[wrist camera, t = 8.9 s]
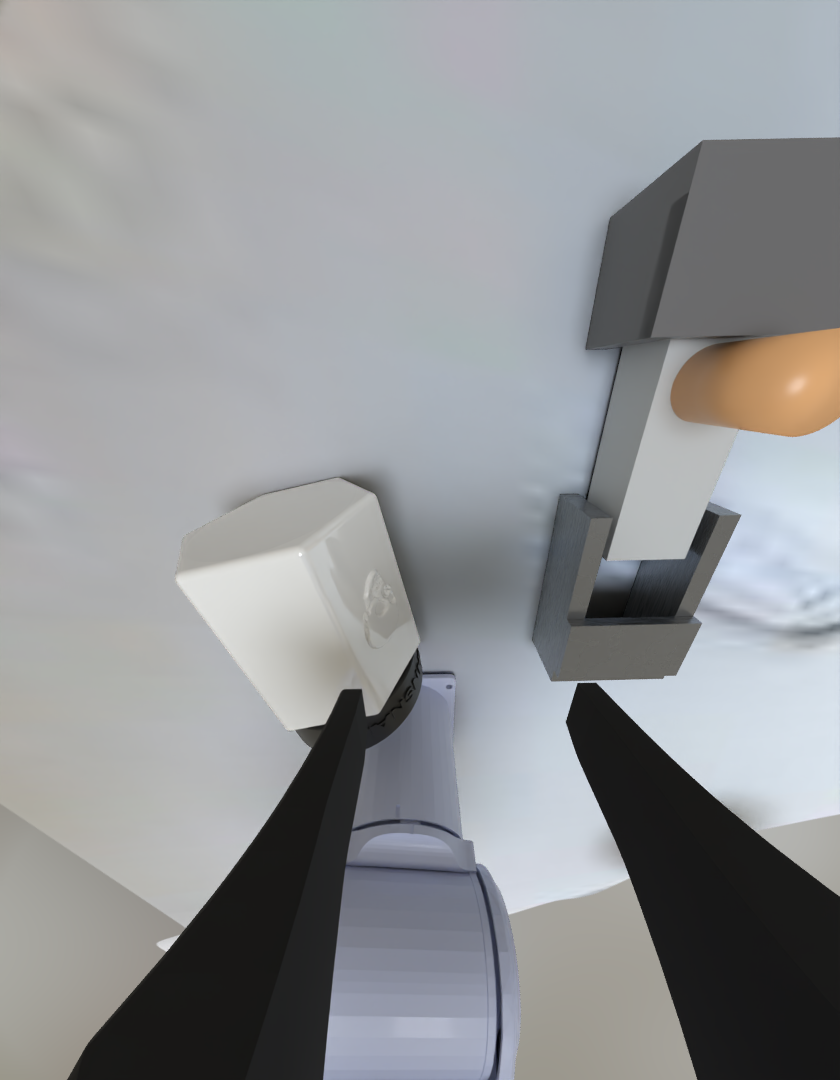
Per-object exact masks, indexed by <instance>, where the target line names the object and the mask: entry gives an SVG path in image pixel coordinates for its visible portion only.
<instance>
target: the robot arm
mask: <svg viewBox="0 0 840 1080" xmlns="http://www.w3.org/2000/svg"><path fill="white" fill-rule="evenodd" d="M455 687H456V680H455V676H454V675H452V674H428V675H422V685H421V690H420V693H419V696H418V699H417V701H416V703H415V705H414V707H413V709H412V711H411V712H410V714H409V715H408V717H407V718H406V719H405V720H404V722H403V723H402V724H401V725H400V726H399V727H398V728H397V729H396V730H395V731H394V732H393V733H392V734H391V735H389V736H388V737H387V738H385V739H384V740H383V741H381V742H379V743H378V744H376V745H374V746H372V747H370V748H368V749H366V741H367V730H368V726H367V719H366V713H365V706H364V700H363V693H362V689H343V690H342V691H341V692H340V694H339V697H338V699H337V701H336V703H335V705H334V708H333V710H332V712H331V714H330V716H329V718H328V720H327V722H326V724H325V726H324V727H323V729H322V731H321V733H320V735H319V737H318V739H317V740H316V742H315V744H314V746H313V748H312V749H311V751H310V753H309V755H308V757H307V758H306V760H305V762H304V763H303V765H302V767H301V768H300V770H299V772H298V773H297V775H296V777H295V778H294V780H293V781H292V783H291V785H290V786H289V788H288V790H287V791H286V793H285V794H284V796H283V798H282V799H281V801H280V802H279V804H278V805H277V807H276V808H275V810H274V811H273V813H272V814H271V816H270V817H269V819H268V820H267V822H266V823H265V825H264V826H263V827H262V829H261V830H260V832H259V833H258V835H257V836H256V837H255V839H254V840H253V842H252V843H251V845H250V846H249V847H248V849H247V850H246V851H245V853H244V854H243V855H242V857H241V858H240V859H239V861H238V862H237V864H236V865H235V866H234V868H233V869H232V870H231V872H230V873H229V874H228V876H227V877H226V878H225V880H224V881H223V882H222V884H221V885H220V886H219V888H218V889H217V890H216V891H215V893H214V894H213V895H212V897H211V898H210V899H209V900H208V902H207V903H206V904H205V905H204V906H203V908H202V909H201V910H200V911H199V913H198V914H197V915H196V916H195V918H194V919H193V920H192V921H191V923H190V924H189V925H188V926H187V928H186V929H185V930H184V931H183V932H182V934H181V935H180V936H179V937H178V939H177V940H176V941H175V942H174V944H173V945H172V946H171V947H170V949H169V950H168V951H167V952H166V953H165V955H164V956H163V957H162V958H161V959H160V961H159V962H158V963H157V964H156V965H155V967H154V968H153V969H152V970H151V971H150V972H149V973H148V974H147V976H146V977H145V978H144V979H143V980H142V981H141V983H140V984H139V985H138V986H137V987H136V988H135V990H134V991H133V992H132V993H131V994H130V995H129V996H128V998H127V999H126V1000H125V1001H124V1002H123V1003H122V1005H121V1006H120V1007H119V1008H118V1009H117V1010H116V1011H115V1013H114V1014H113V1015H112V1016H111V1017H110V1018H109V1020H108V1021H107V1022H106V1023H105V1024H104V1025H103V1027H101V1029H100V1030H99V1031H98V1032H97V1033H96V1034H95V1036H94V1037H93V1038H92V1039H91V1040H90V1042H89V1043H88V1045H87V1046H86V1048H85V1050H84V1051H83V1053H82V1055H81V1056H80V1058H79V1060H78V1062H77V1063H76V1065H75V1067H74V1069H73V1071H72V1072H71V1074H70V1076H69V1078H68V1079H67V1080H514V1074H515V1061H516V1054H517V1050H518V1045H519V1037H520V1021H521V1006H520V986H519V975H518V966H517V959H516V951H515V945H514V939H513V934H512V929H511V925H510V920H509V916H508V913H507V909H506V906H505V903H504V900H503V897H502V895H501V892H500V890H499V888H498V886H497V885H496V883H495V882H494V880H493V878H492V876H491V874H490V873H489V871H488V870H487V868H486V867H485V866H484V865H482V864H476V862H475V854H474V846H473V842H472V841H470V840H463V836H462V827H461V817H460V807H459V798H458V788H457V779H456V769H455V760H454V750H453V730H454V709H455ZM566 724H567V727H568V730H569V733H570V736H571V740H572V743H573V745H574V748H575V751H576V754H577V757H578V759H579V762H580V764H581V766H582V768H583V771H584V773H585V775H586V777H587V780H588V782H589V784H590V786H591V788H592V791H593V793H594V795H595V797H596V799H597V802H598V804H599V806H600V808H601V811H602V813H603V815H604V817H605V819H606V822H607V824H608V826H609V828H610V830H611V833H612V835H613V837H614V839H615V841H616V844H617V846H618V849H619V851H620V853H621V856H622V858H623V860H624V863H625V866H626V868H627V871H628V874H629V876H630V879H631V882H632V884H633V887H634V890H635V893H636V895H637V898H638V901H639V903H640V906H641V909H642V912H643V915H644V918H645V920H646V923H647V926H648V929H649V932H650V935H651V938H652V940H653V943H654V946H655V949H656V952H657V955H658V957H659V960H660V964H661V967H662V970H663V973H664V976H665V979H666V981H667V985H668V988H669V991H670V994H671V997H672V1000H673V1003H674V1006H675V1009H676V1012H677V1015H678V1018H679V1021H680V1025H681V1028H682V1031H683V1034H684V1038H685V1041H686V1044H687V1047H688V1050H689V1054H690V1057H691V1060H692V1063H693V1067H694V1070H695V1073H696V1077H697V1080H840V897H839V896H838V895H837V894H835V893H834V892H832V891H831V890H830V889H828V888H827V887H826V886H825V885H823V884H822V883H821V882H819V881H818V880H817V879H815V878H814V877H813V876H811V875H810V874H809V873H808V872H806V871H805V870H804V869H802V868H801V867H800V866H798V865H797V864H795V863H794V862H793V861H792V860H791V859H789V858H788V857H787V856H785V855H784V854H783V853H781V852H780V851H779V850H777V849H776V848H775V847H774V846H772V845H771V844H770V843H769V842H767V841H766V840H765V839H764V838H762V837H761V836H760V835H759V834H758V833H756V832H755V831H754V830H753V829H751V828H750V827H749V826H748V825H747V824H745V823H744V822H743V821H742V820H741V819H739V818H738V817H737V816H736V815H735V814H733V813H732V812H731V811H730V810H729V809H727V808H726V807H725V806H724V805H723V804H722V803H720V802H719V801H718V800H717V799H716V798H715V797H714V796H712V795H711V794H710V793H709V792H708V791H707V790H706V789H704V788H703V787H702V786H701V785H700V784H699V783H698V782H697V781H696V780H695V779H693V778H692V777H691V776H690V775H689V774H688V773H687V772H686V771H685V770H684V769H683V768H681V767H680V766H679V765H678V764H677V763H676V762H675V761H674V760H673V759H672V758H671V757H670V756H669V755H668V754H667V753H666V752H665V751H664V750H663V749H662V748H660V747H659V746H658V745H657V744H656V743H655V742H654V741H653V740H652V739H651V738H650V737H649V736H648V735H647V734H646V733H645V732H644V731H643V730H642V729H641V728H640V727H639V726H638V725H637V724H636V723H635V722H634V721H633V720H632V719H631V718H630V717H629V716H628V715H627V714H626V713H625V712H624V711H623V710H622V709H621V708H620V707H619V706H618V705H617V704H616V703H615V702H614V701H613V700H612V699H611V697H610V696H609V695H608V694H607V693H606V692H605V691H604V690H603V689H602V688H601V687H600V686H599V685H598V684H597V683H578V684H577V687H576V690H575V694H574V697H573V700H572V704H571V707H570V710H569V713H568V717H567V720H566Z"/></svg>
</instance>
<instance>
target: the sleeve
mask: <svg viewBox="0 0 840 1080" xmlns="http://www.w3.org/2000/svg"><path fill="white" fill-rule="evenodd" d="M740 517H741V515H740V514H738V513H735V512H733V511H730V510H728V509H726V508H723V507H721V506H718V505H716V504H713V503H711V502H708V505H707V507H706V510H705V512H704V514H703V517H702V519H701V522H700V524H699V526H698V529H697V531H696V534H695V536H694V538H693V541H692V543H691V545H690V548H689V550H688V553H687V555H686V557H685V559H662V560H642V562H641V565H640V568H639V571H638V574H637V577H636V580H635V583H634V585H633V588H632V591H631V594H630V597H629V600H628V603H627V605H626V608H625V611H624V614H623V617H622V618H587V619H585V616H586V612H587V608H588V605H589V601H590V598H591V594H592V591H593V587H594V583H595V580H596V576H597V573H598V569H599V566H600V562H601V558H602V555H603V551H604V548H605V544H606V541H607V537H608V533H609V530H610V526H611V523H612V519H613V518H612V517H611V516H609V515H608V514H606V513H605V512H603V511H602V510H600V509H599V508H598V507H596V506H595V505H593V504H592V503H590V502H589V501H587V500H586V499H584V498H583V497H582V496H580V495H579V494H560V498H559V503H558V508H557V514H556V519H555V524H554V529H553V535H552V540H551V545H550V550H549V556H548V561H547V566H546V571H545V577H544V582H543V587H542V592H541V598H540V603H539V608H538V613H537V619H536V624H535V629H534V634H533V642H534V645H535V647H536V649H537V651H538V653H539V656H540V658H541V660H542V662H543V664H544V667H545V669H546V671H547V673H548V675H549V678H550V680H551V681H588V680H626V679H663V678H664V676H674V675H676V674H677V672H678V670H679V668H680V666H681V664H682V662H683V660H684V658H685V656H686V654H687V652H688V650H689V648H690V646H691V644H692V642H693V640H694V638H695V636H696V634H697V632H698V630H699V628H700V626H701V624H702V623H701V622H700V621H699V620H697V619H696V618H695V617H694V616H693V615H694V613H695V611H696V609H697V607H698V605H699V603H700V600H701V598H702V596H703V594H704V592H705V590H706V588H707V586H708V584H709V582H710V580H711V577H712V575H713V573H714V571H715V569H716V567H717V565H718V563H719V561H720V559H721V557H722V554H723V552H724V550H725V548H726V546H727V544H728V542H729V540H730V538H731V536H732V534H733V531H734V529H735V527H736V525H737V523H738V521H739V519H740Z"/></svg>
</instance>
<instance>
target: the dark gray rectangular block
mask: <svg viewBox="0 0 840 1080" xmlns="http://www.w3.org/2000/svg"><path fill="white" fill-rule="evenodd" d="M835 328H840V138H790V139H738V140H703V141H701V142H700V143H699V144H698V145H697V146H696V147H694V148H693V149H692V150H691V151H690V152H688V153H687V154H686V155H685V156H684V157H682V158H681V159H680V160H679V161H678V162H676V163H675V164H674V165H673V166H672V167H670V168H669V169H668V170H667V171H666V172H665V173H663V174H662V175H661V176H660V177H659V178H657V179H656V180H655V181H654V182H653V183H651V184H650V185H649V186H648V187H647V188H645V189H644V190H643V191H642V192H641V193H639V194H638V195H637V196H636V197H635V198H634V199H632V200H631V201H630V202H629V203H628V204H626V205H625V206H624V207H623V208H622V209H620V210H619V211H618V212H617V213H616V214H614V215H613V216H612V217H611V218H610V222H609V228H608V233H607V238H606V244H605V249H604V254H603V260H602V265H601V270H600V276H599V281H598V286H597V292H596V297H595V302H594V307H593V313H592V318H591V323H590V329H589V334H588V339H587V345H586V350H596V349H612V348H617V347H623V346H629V345H635V344H641V343H647V342H653V341H659V340H665V339H704V338H750V337H772V336H780V335H788V334H796V333H804V332H811V331H819V330H827V329H835Z"/></svg>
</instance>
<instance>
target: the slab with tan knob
mask: <svg viewBox="0 0 840 1080" xmlns="http://www.w3.org/2000/svg"><path fill="white" fill-rule="evenodd" d="M839 417H840V328H835V329H827V330H819V331H811V332H804V333H796V334H788V335H780V336H772V337H750V338H704V339H665V340H659V341H653V342H647V343H641V344H635V345H629V346H623V349H622V353H621V357H620V362H619V366H618V370H617V375H616V379H615V383H614V387H613V392H612V396H611V400H610V405H609V409H608V413H607V417H606V422H605V426H604V430H603V435H602V439H601V443H600V447H599V452H598V456H597V460H596V465H595V469H594V473H593V477H592V482H591V486H590V490H589V495H588V499H587V501H589V502H590V503H592V504H593V505H595V506H596V507H598V508H599V509H600V510H602V511H603V512H605V513H606V514H608V515H609V516H611V517H612V518H613V519H612V523H611V526H610V530H609V533H608V537H607V541H606V544H605V548H604V551H603V555H602V557H603V558H604V559H605V560H606V561H621V560H662V559H685V557H686V555H687V553H688V550H689V548H690V545H691V543H692V541H693V538H694V536H695V534H696V531H697V529H698V526H699V524H700V522H701V519H702V517H703V514H704V512H705V510H706V507H707V505H708V502H709V500H710V498H711V495H712V493H713V491H714V488H715V486H716V483H717V481H718V479H719V476H720V474H721V471H722V469H723V467H724V464H725V462H726V460H727V457H728V455H729V452H730V450H731V448H732V445H733V443H734V440H735V438H736V436H737V433H738V431H739V429H740V430H747V431H754V432H760V433H767V434H774V435H781V436H788V437H797V436H803V435H807V434H810V433H813V432H816V431H818V430H820V429H822V428H824V427H826V426H827V425H829V424H831V423H832V422H834V421H835V420H836V419H838V418H839Z"/></svg>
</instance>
